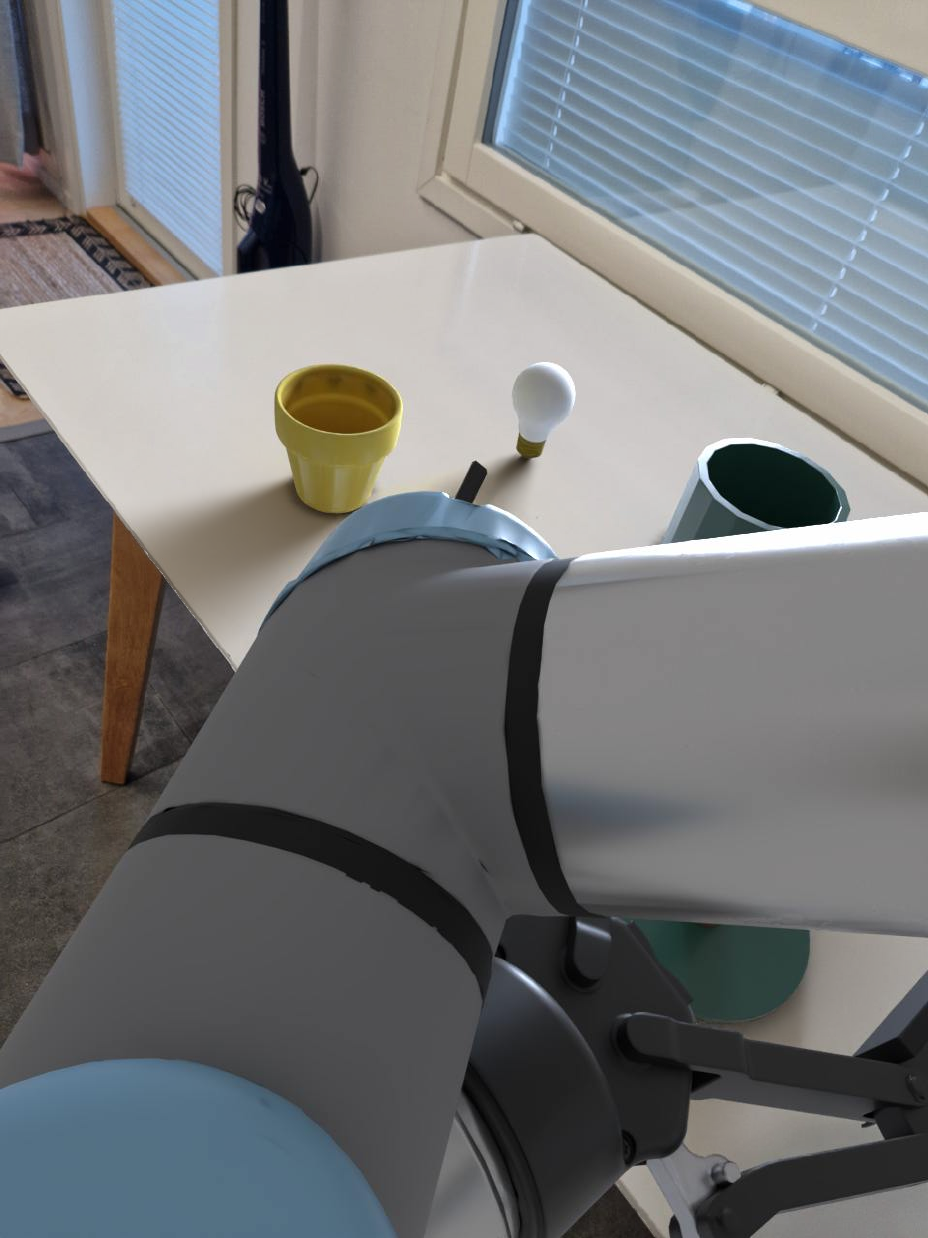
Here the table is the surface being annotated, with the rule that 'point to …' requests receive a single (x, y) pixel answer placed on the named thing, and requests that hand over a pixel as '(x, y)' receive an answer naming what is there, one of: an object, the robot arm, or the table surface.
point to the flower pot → (336, 432)
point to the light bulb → (540, 405)
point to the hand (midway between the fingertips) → (832, 820)
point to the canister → (754, 493)
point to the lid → (730, 965)
